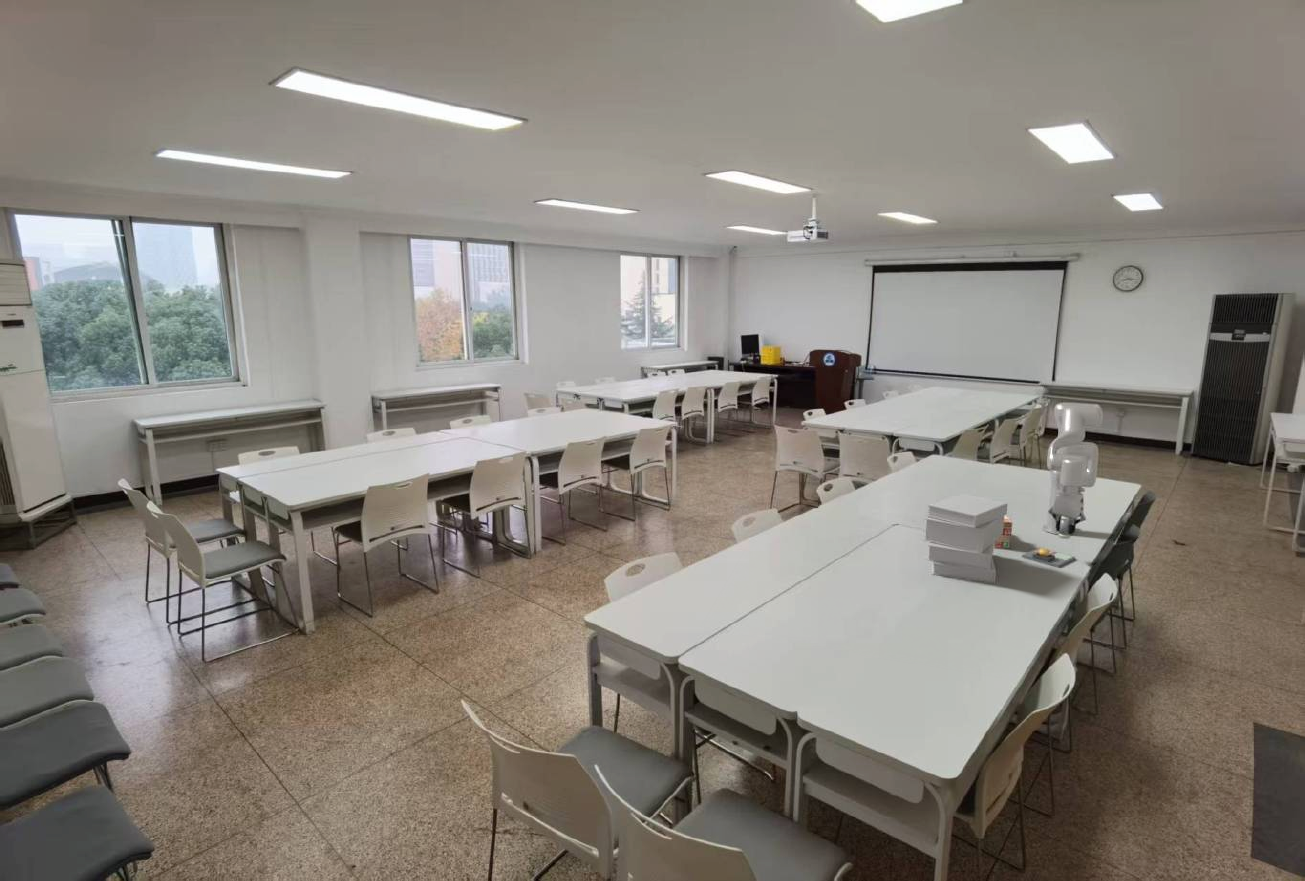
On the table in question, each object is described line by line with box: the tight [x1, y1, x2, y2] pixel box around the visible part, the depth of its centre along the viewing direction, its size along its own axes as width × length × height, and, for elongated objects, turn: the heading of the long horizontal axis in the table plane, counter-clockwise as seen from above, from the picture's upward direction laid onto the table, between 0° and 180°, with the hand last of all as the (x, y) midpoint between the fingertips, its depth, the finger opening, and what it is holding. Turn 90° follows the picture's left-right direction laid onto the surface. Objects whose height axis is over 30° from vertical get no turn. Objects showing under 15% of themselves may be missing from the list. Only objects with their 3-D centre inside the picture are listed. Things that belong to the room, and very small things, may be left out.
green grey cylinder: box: [1058, 515, 1071, 540], centre depth 267 cm, size 4×4×9 cm
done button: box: [1039, 548, 1050, 557], centre depth 267 cm, size 4×4×2 cm
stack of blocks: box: [994, 515, 1014, 549], centre depth 291 cm, size 21×6×12 cm, turn 170°
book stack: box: [922, 493, 1008, 584], centre depth 263 cm, size 30×35×26 cm
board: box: [1021, 547, 1076, 568], centre depth 270 cm, size 15×14×2 cm
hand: (1064, 531), depth 267 cm, fingers closed on green grey cylinder, 3 cm apart
